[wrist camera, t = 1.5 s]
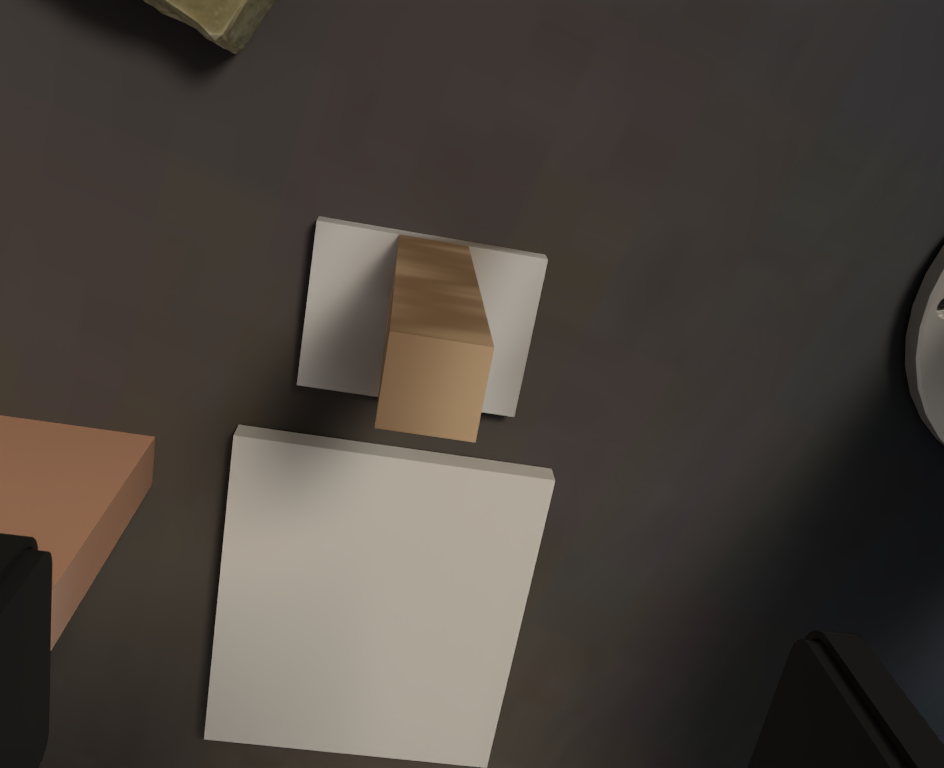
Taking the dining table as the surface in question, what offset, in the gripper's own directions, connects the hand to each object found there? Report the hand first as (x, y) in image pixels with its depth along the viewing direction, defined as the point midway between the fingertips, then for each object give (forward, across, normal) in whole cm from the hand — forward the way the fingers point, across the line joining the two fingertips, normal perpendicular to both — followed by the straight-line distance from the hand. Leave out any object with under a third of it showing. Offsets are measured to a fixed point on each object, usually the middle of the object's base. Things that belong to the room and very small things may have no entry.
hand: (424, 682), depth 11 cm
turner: (+22, 0, +2) cm, 22 cm away
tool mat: (+22, 0, +14) cm, 26 cm away
